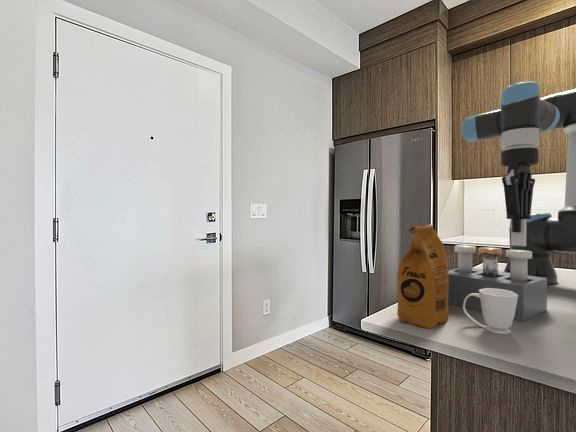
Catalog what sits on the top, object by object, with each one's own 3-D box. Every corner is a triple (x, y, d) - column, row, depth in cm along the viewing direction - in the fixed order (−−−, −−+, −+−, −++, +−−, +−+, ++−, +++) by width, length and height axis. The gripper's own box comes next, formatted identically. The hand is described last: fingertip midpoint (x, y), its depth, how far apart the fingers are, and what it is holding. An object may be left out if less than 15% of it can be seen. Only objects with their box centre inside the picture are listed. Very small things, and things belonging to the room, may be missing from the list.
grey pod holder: (465, 293, 97) (465, 266, 97) (546, 309, 81) (546, 278, 80) (439, 301, 89) (439, 272, 89) (523, 321, 73) (523, 286, 72)
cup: (517, 339, 63) (517, 298, 63) (460, 328, 69) (460, 291, 69) (518, 328, 69) (519, 290, 68) (466, 319, 75) (466, 284, 75)
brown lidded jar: (484, 277, 88) (484, 246, 88) (505, 281, 84) (505, 248, 84) (475, 280, 85) (475, 248, 85) (496, 284, 81) (496, 250, 81)
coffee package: (389, 320, 75) (389, 225, 74) (414, 308, 83) (414, 223, 83) (433, 332, 67) (433, 227, 67) (455, 317, 76) (455, 224, 75)
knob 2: (511, 282, 83) (511, 249, 83) (535, 286, 79) (535, 251, 78) (502, 285, 80) (502, 250, 80) (526, 289, 76) (527, 253, 76)
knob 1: (460, 274, 94) (460, 244, 94) (479, 277, 89) (479, 246, 89) (451, 276, 91) (451, 246, 91) (470, 279, 86) (470, 248, 86)
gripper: (513, 154, 85) (512, 242, 86) (490, 149, 78) (489, 246, 78) (548, 149, 79) (547, 245, 80) (526, 143, 72) (525, 248, 72)
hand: (518, 245), depth 79 cm, fingers closed
